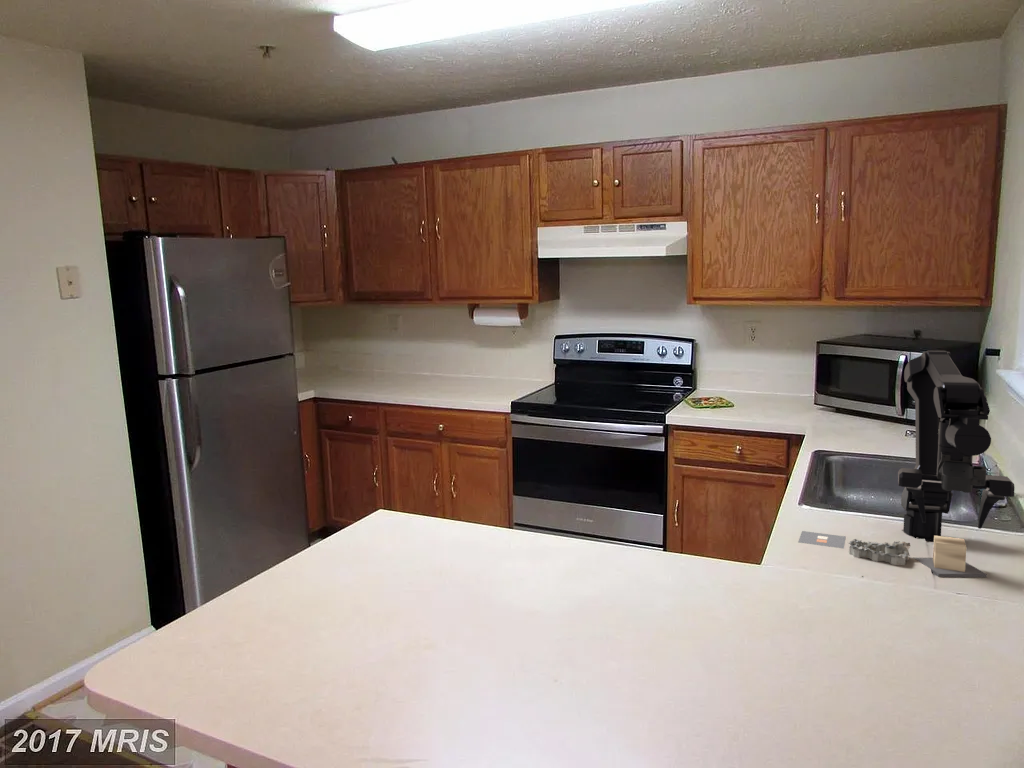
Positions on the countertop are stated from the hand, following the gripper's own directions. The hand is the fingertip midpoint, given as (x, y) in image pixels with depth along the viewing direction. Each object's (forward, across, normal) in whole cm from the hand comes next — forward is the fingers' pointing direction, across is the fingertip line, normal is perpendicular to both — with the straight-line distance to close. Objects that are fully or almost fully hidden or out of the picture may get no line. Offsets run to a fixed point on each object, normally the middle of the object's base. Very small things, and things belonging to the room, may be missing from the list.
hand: (951, 525), depth 136 cm
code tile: (+9, -23, +7) cm, 26 cm away
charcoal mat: (+9, 0, 0) cm, 9 cm away
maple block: (+8, 0, 0) cm, 8 cm away
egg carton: (+9, -12, 0) cm, 15 cm away
